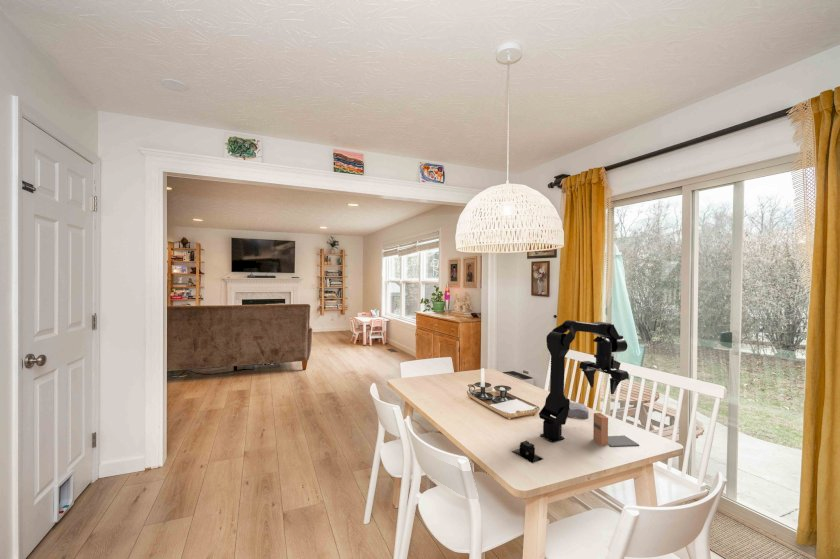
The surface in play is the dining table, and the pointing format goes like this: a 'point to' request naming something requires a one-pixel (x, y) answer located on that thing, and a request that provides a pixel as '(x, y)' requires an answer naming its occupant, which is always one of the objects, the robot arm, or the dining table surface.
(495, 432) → the dining table surface
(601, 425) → the terracotta block
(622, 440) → the charcoal mat
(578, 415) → the stone block
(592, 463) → the dining table surface
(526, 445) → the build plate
